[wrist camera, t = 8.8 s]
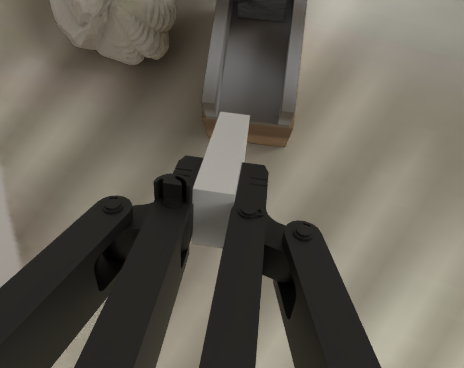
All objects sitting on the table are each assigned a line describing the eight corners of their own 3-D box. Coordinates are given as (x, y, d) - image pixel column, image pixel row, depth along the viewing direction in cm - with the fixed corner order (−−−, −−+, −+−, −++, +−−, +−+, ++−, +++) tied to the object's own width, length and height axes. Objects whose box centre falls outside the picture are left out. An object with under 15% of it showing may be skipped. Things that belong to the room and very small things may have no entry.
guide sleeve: (285, 146, 30) (299, 113, 22) (209, 138, 30) (196, 101, 22) (299, 15, 32) (318, -59, 24) (228, 8, 32) (222, -68, 24)
